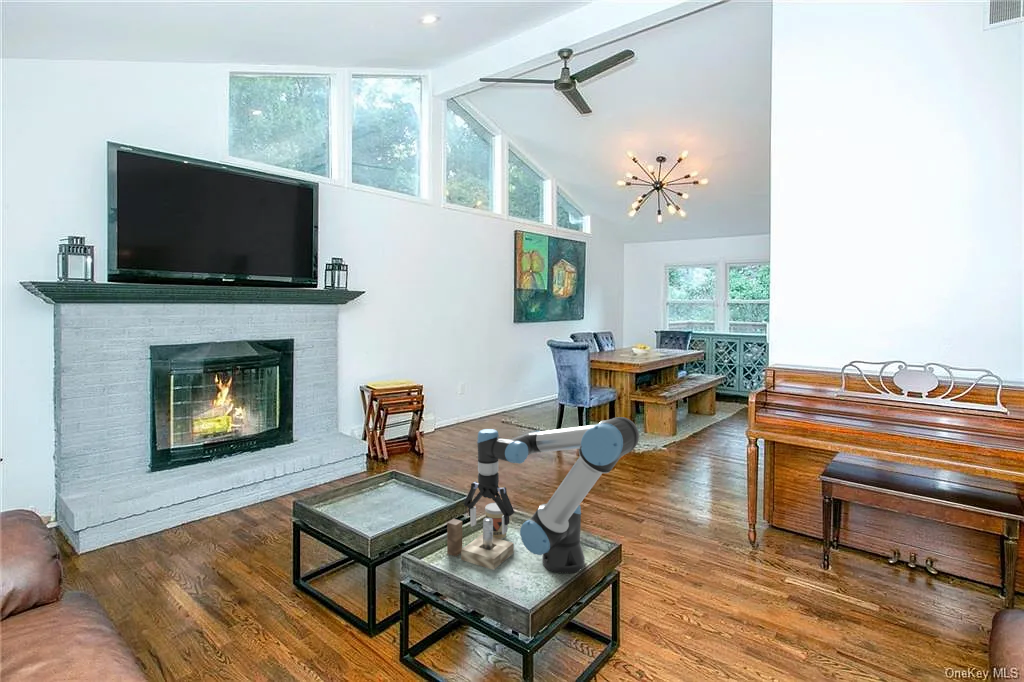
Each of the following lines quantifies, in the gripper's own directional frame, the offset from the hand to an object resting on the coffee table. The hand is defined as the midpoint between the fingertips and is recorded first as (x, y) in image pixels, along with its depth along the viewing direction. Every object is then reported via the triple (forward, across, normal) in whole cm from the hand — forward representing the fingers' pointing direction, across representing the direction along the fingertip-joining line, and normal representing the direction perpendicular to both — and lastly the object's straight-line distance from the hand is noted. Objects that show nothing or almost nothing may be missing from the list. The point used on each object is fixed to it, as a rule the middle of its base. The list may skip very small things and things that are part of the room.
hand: (488, 528), depth 193 cm
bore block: (+11, +1, 0) cm, 11 cm away
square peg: (+10, +13, +4) cm, 17 cm away
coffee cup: (+11, +7, -16) cm, 20 cm away
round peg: (+11, +1, 0) cm, 11 cm away
